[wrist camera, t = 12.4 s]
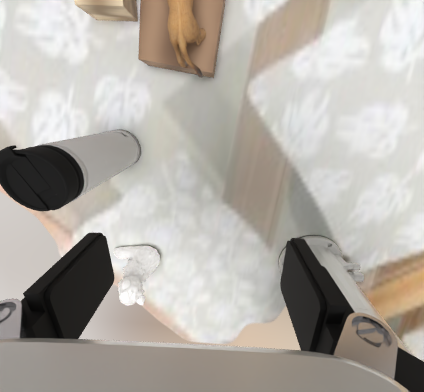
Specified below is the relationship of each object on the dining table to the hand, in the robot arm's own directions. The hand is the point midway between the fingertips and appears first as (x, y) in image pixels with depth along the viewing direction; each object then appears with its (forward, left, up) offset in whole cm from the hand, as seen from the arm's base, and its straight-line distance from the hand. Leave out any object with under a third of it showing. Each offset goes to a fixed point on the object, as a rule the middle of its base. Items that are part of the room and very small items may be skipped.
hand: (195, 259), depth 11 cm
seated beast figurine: (+15, +22, -29) cm, 39 cm away
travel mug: (+16, -1, -28) cm, 33 cm away
